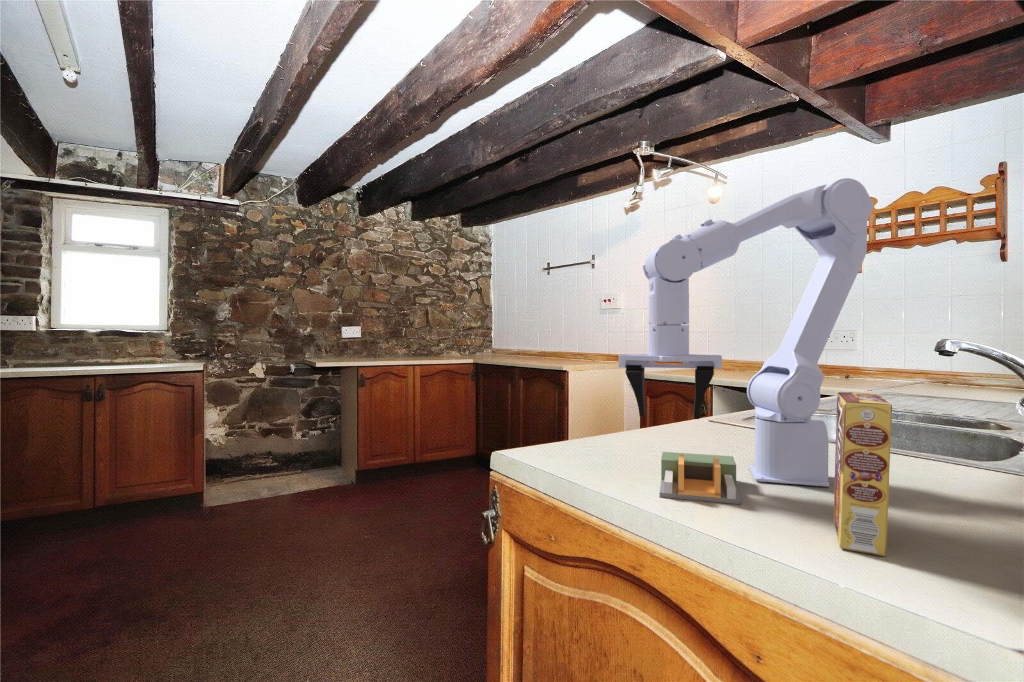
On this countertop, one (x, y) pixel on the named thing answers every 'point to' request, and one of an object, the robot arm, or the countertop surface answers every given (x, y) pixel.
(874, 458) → the candy box
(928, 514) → the countertop surface
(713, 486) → the chute
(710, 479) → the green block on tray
